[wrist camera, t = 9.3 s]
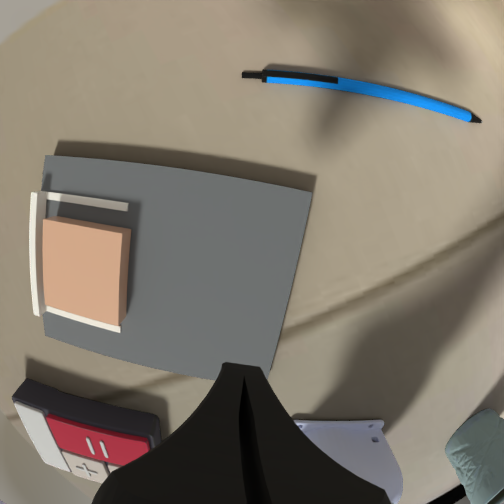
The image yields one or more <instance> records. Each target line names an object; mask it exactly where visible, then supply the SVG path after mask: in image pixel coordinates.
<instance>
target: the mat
mask: <svg viewBox="0 0 504 504" xmlns="http://www.w3.org/2000/svg"><path fill="white" fill-rule="evenodd" d="M311 197H312V192H307V191H303V190H298V189H293V188H289V187H284V186H279V185H274V184H269V183H264V182H258V181H253V180H248V179H242V178H236V177H231V176H225V175H219V174H213V173H207V172H200V171H194V170H187V169H180V168H173V167H165V166H158V165H150V164H142V163H133V162H124V161H114V160H104V159H93V158H81V157H67V156H51V155H45V162H44V170H43V178H42V188H41V191H36V192H31V204H30V229H29V252H30V277H31V291H32V302H33V311H34V315H37V316H41V315H42V314H43V322H44V330H45V336H48V337H51V338H54V339H56V340H59V341H62V342H65V343H68V344H71V345H74V346H77V347H80V348H83V349H86V350H89V351H92V352H96V353H99V354H102V355H106V356H109V357H112V358H116V359H120V360H123V361H127V362H131V363H135V364H139V365H143V366H147V367H151V368H155V369H160V370H164V371H169V372H173V373H178V374H183V375H188V376H193V377H199V378H204V379H210V380H216V379H217V377H218V375H219V373H220V370H221V367H222V364H223V363H224V362H231V363H237V364H244V365H251V366H259V367H260V368H261V369H262V371H263V373H264V375H265V377H266V379H268V375H269V372H270V368H271V365H272V361H273V357H274V353H275V350H276V346H277V342H278V338H279V335H280V331H281V327H282V323H283V319H284V315H285V311H286V307H287V303H288V299H289V295H290V291H291V287H292V283H293V279H294V274H295V270H296V266H297V261H298V257H299V253H300V248H301V244H302V239H303V235H304V230H305V226H306V221H307V216H308V212H309V207H310V202H311ZM53 216H60V217H65V218H71V219H77V220H82V221H88V222H94V223H99V224H105V225H111V226H116V227H122V228H128V229H131V239H130V251H129V264H128V281H127V306H126V317H125V319H124V320H123V321H122V322H121V324H120V325H119V326H116V325H112V324H108V323H104V322H101V321H97V320H93V319H90V318H86V317H83V316H80V315H76V314H73V313H70V312H66V311H63V310H60V309H57V308H54V307H51V306H48V305H45V299H44V284H43V252H42V243H43V219H45V218H49V217H53Z"/></svg>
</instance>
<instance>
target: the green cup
mask: <svg viewBox="0 0 504 504" xmlns="http://www.w3.org/2000/svg"><path fill="white" fill-rule="evenodd" d="M445 453H446V455H447V457H448V459H449V461H450V462H451V464H452V466H453V468H455V470H456V474H457V476H458V478H459V480H460V482H461V484H462V485H464V487H465V490H466V494H467V496H468V498H469V500H470V502H471V504H500V503H502V502H503V501H504V419H503V418H501V417H499V415H498V414H497V413H496V412H495V411H494V410H492V409H485V410H483V411H480V412H479V413H477V414H475V415H474V416H472V417H471V418H470V419H468V420H467V421H466V422H465V423H464V424H463V425H462V426H460V428H459V429H457V430H456V432H455V433H454V434H453V435H452V437H451V438H450V440H449V441H448V443H447V445H446V448H445Z"/></svg>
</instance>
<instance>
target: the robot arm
mask: <svg viewBox="0 0 504 504" xmlns="http://www.w3.org/2000/svg"><path fill="white" fill-rule="evenodd" d="M298 425H299V426H298ZM383 426H384V421H383V420H365V421H308V420H292V418H291V417H290V416H289V414H288V413H287V412H286V410H285V409H284V407H283V406H282V404H281V403H280V401H279V400H278V398H277V396H276V395H275V393H274V392H273V390H272V388H271V386H270V384H269V383H268V381H267V379H266V377H265V375H264V373H263V371H262V369H261V368H260V367H259V366H251V365H244V364H237V363H231V362H224V363H223V364H222V367H221V370H220V373H219V375H218V377H217V379H216V381H215V383H214V385H213V386H212V388H211V389H210V391H209V393H208V394H207V396H206V397H205V398H204V400H203V401H202V402H201V403H200V405H199V406H198V407H197V409H196V410H195V411H194V412H193V413H192V414H191V416H190V417H189V418H188V419H187V420H186V421H185V422H184V423H183V424H182V425H181V426H180V427H179V428H178V429H177V430H175V431H174V432H173V433H172V434H171V435H170V436H169V437H167V438H166V439H165V440H164V441H162V442H161V443H160V444H158V445H157V446H155V447H154V448H152V449H151V450H149V451H148V452H147V453H145V454H144V455H142V456H140V457H139V458H137V459H135V460H133V461H131V462H129V463H127V464H126V465H124V466H122V467H120V468H118V469H116V470H114V471H112V472H111V473H110V474H109V476H108V477H107V478H106V479H105V481H104V482H103V483H102V485H101V486H100V488H99V490H98V491H97V493H96V495H95V497H94V499H93V502H92V504H397V503H398V502H399V500H400V498H401V495H402V491H403V478H402V473H401V470H400V467H399V465H398V463H397V461H396V459H395V457H394V455H393V453H392V450H391V448H390V446H389V444H388V442H387V440H386V438H385V436H384V434H383V432H382V430H381V429H382V427H383ZM0 504H6V503H4V502H3V501H1V500H0ZM502 504H504V503H502Z"/></svg>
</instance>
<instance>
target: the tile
mask: <svg viewBox="0 0 504 504" xmlns="http://www.w3.org/2000/svg"><path fill="white" fill-rule="evenodd" d="M130 239H131V229H128V228H122V227H116V226H111V225H105V224H99V223H94V222H88V221H82V220H77V219H71V218H65V217H60V216H53V217H49V218H45V219H43V243H42V252H43V284H44V299H45V305H48V306H51V307H54V308H57V309H60V310H63V311H66V312H70V313H73V314H76V315H80V316H83V317H86V318H90V319H93V320H97V321H101V322H104V323H108V324H112V325H116V326H119V325H120V324H121V322H122V321H123V320H124V319H125V317H126V306H127V281H128V264H129V251H130Z"/></svg>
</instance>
